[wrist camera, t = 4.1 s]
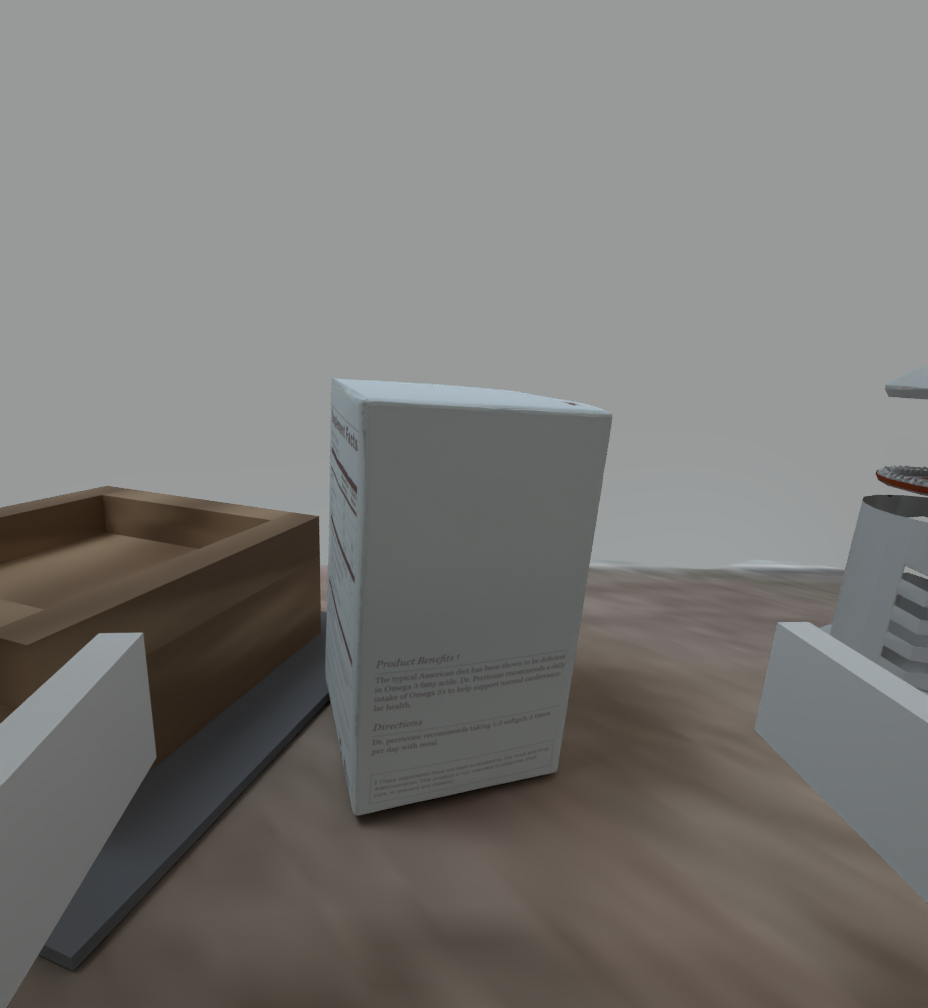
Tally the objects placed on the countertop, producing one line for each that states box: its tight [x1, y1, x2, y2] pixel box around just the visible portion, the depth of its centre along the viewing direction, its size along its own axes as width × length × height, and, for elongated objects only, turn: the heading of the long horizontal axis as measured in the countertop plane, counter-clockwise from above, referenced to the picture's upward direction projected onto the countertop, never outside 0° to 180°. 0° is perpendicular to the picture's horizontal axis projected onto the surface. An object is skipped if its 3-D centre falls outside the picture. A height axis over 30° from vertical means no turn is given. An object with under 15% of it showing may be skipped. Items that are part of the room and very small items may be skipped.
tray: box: [0, 486, 321, 773], centre depth 22 cm, size 13×13×6 cm
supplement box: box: [325, 379, 612, 815], centre depth 19 cm, size 7×7×13 cm
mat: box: [39, 612, 330, 971], centre depth 22 cm, size 19×17×1 cm
